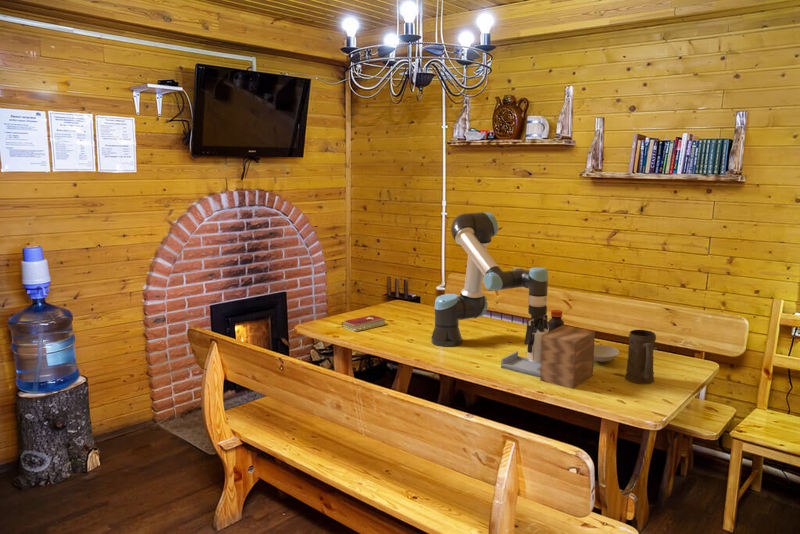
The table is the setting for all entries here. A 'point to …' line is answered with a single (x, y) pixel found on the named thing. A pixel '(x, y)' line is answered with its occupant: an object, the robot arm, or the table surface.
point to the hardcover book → (363, 323)
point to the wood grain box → (567, 356)
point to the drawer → (521, 365)
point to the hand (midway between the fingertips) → (536, 356)
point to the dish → (604, 353)
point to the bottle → (555, 320)
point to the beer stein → (640, 357)
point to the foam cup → (538, 345)
